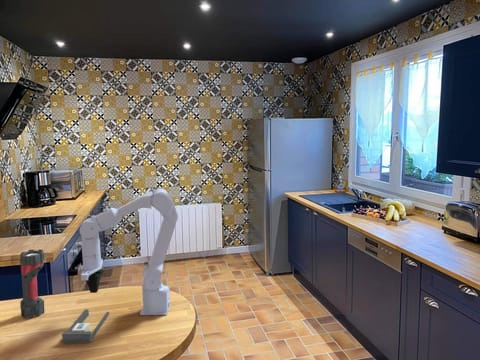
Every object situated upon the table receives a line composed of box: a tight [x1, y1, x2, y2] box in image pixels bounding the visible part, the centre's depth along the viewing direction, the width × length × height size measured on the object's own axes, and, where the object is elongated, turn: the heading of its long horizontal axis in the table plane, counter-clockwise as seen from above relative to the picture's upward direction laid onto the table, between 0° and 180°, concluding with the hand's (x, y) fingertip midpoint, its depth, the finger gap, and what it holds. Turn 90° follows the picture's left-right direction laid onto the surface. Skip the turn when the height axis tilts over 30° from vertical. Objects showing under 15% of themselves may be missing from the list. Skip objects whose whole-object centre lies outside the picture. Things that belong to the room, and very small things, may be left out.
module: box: [72, 322, 91, 332], centre depth 118 cm, size 4×4×4 cm
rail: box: [61, 308, 110, 344], centre depth 123 cm, size 8×17×3 cm, turn 0°
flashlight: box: [19, 249, 46, 319], centre depth 131 cm, size 8×8×23 cm
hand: (94, 292), depth 128 cm, fingers closed
